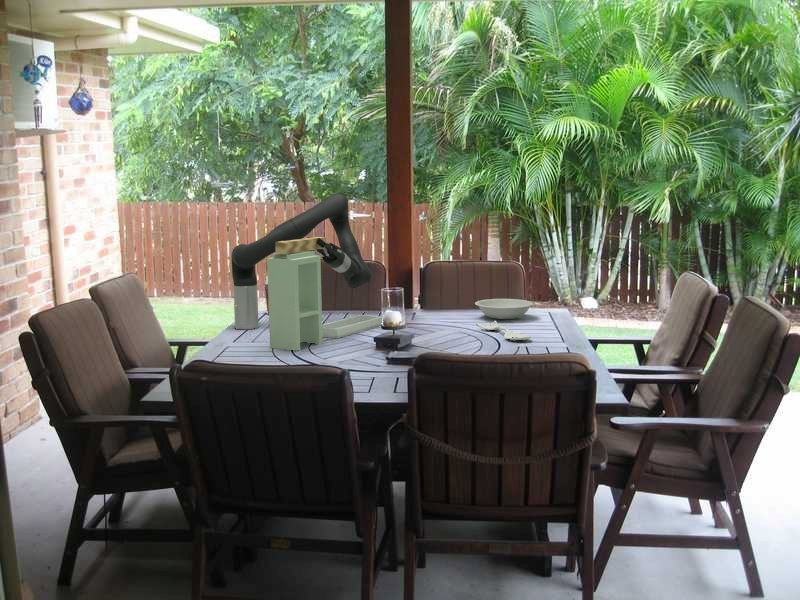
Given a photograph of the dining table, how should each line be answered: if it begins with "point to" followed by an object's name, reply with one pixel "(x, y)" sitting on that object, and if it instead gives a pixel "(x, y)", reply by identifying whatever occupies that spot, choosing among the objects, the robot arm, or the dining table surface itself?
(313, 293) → the stand
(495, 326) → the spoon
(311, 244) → the tan wooden bar
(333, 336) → the tray
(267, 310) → the smoothie
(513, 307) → the soup bowl
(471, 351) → the dining table surface
